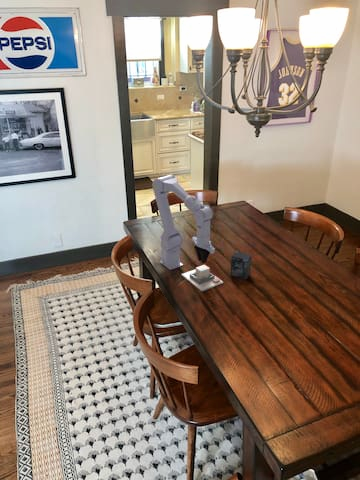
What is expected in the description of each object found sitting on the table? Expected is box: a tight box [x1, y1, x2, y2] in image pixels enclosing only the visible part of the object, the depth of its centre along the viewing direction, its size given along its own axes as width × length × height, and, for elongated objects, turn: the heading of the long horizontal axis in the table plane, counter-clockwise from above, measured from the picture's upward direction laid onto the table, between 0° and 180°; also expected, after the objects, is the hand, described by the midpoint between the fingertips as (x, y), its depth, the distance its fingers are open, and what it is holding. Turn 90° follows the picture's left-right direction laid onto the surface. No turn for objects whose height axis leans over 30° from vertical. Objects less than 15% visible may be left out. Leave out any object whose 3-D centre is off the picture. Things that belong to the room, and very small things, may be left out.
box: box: [229, 251, 252, 280], centre depth 170 cm, size 8×6×11 cm
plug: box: [195, 264, 211, 279], centre depth 168 cm, size 4×5×5 cm
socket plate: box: [181, 268, 224, 292], centre depth 169 cm, size 16×12×2 cm
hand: (202, 261), depth 165 cm, fingers closed
